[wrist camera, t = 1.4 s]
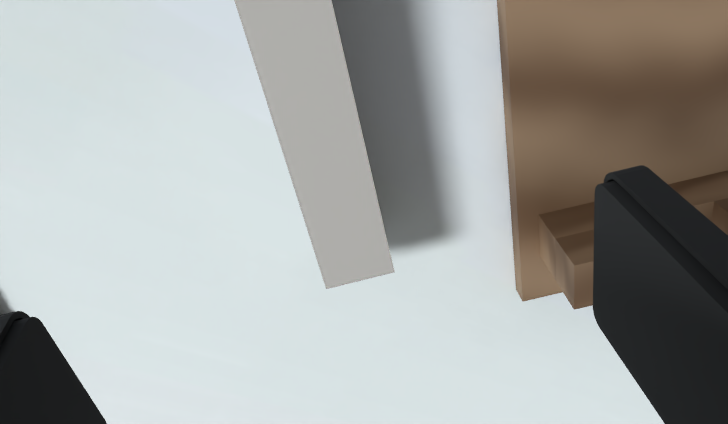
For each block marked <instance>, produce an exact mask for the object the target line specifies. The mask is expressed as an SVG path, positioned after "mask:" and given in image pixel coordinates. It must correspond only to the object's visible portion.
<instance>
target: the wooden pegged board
mask: <svg viewBox="0 0 728 424" xmlns="http://www.w3.org/2000/svg"><path fill="white" fill-rule="evenodd" d="M497 7H498V22H499V38H500V53H501V68H502V83H503V98H504V113H505V128H506V143H507V158H508V174H509V189H510V204H511V219H512V234H513V249H514V264H515V279H516V290H517V292H518V294H519V295H520V297H521V299H522V301H527V300H531V299H535V298H540V297H544V296H548V295H552V294H557V293H561V292H563V293H564V294H565V296H566V297H567V299H568V301H569V302H570V304H571V305H572V307H573V308H574V309H578V308H583V307H587V306H591V305H593V262H594V198H595V188H596V186H597V185H598V184H601V183H604V178H605V176H606V175H607V174H608V173H610V172H614V171H618V170H623V169H627V168H631V167H635V166H640V165H644V166H646V167H648V168H649V169H650V170H652V171H653V172H654V173H655V174H656V175H657V176H659V177H660V178H661V179H662V180H663V181H664V182H666V183H667V184H668V185H669V186H670V187H671V188H673V189H674V190H675V191H676V192H677V193H679V194H680V195H681V196H682V197H683V198H684V199H686V200H687V201H688V202H689V203H690V204H691V205H693V206H694V207H695V208H696V209H697V210H699V211H700V212H701V213H702V214H703V215H704V216H706V217H707V218H708V219H709V220H710V221H711V222H713V223H714V224H715V225H716V226H717V227H718V228H720V229H721V230H722V231H723V232H724V233H726V234H727V235H728V0H497Z"/></svg>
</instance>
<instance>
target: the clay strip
mask: <svg viewBox="0 0 728 424" xmlns="http://www.w3.org/2000/svg"><path fill="white" fill-rule="evenodd" d="M235 4H236V7H237V10H238V13H239V16H240V19H241V22H242V26H243V29H244V32H245V35H246V38H247V41H248V44H249V48H250V51H251V54H252V57H253V60H254V63H255V66H256V70H257V73H258V76H259V79H260V82H261V85H262V88H263V92H264V95H265V98H266V101H267V104H268V107H269V110H270V114H271V117H272V120H273V123H274V126H275V129H276V132H277V136H278V139H279V142H280V145H281V148H282V151H283V154H284V157H285V161H286V164H287V167H288V170H289V173H290V176H291V179H292V183H293V186H294V189H295V192H296V195H297V198H298V201H299V205H300V208H301V211H302V214H303V217H304V220H305V223H306V227H307V230H308V233H309V236H310V239H311V242H312V245H313V249H314V252H315V255H316V258H317V261H318V264H319V267H320V271H321V274H322V277H323V280H324V283H325V286H326V289H329V288H333V287H337V286H341V285H345V284H349V283H353V282H357V281H361V280H365V279H369V278H373V277H377V276H381V275H385V274H389V273H393V272H394V268H393V264H392V259H391V255H390V251H389V246H388V242H387V238H386V233H385V229H384V225H383V220H382V216H381V212H380V207H379V203H378V199H377V194H376V190H375V186H374V181H373V177H372V173H371V168H370V164H369V160H368V155H367V151H366V147H365V142H364V138H363V134H362V129H361V125H360V121H359V116H358V112H357V108H356V104H355V99H354V95H353V91H352V86H351V82H350V78H349V73H348V69H347V65H346V60H345V56H344V52H343V47H342V43H341V39H340V34H339V30H338V26H337V21H336V17H335V13H334V8H333V4H332V0H235Z"/></svg>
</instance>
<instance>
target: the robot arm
mask: <svg viewBox="0 0 728 424" xmlns="http://www.w3.org/2000/svg"><path fill="white" fill-rule="evenodd" d="M593 311H594V316H595V319H596V321H597V324H598V326H599V327H600V329H601V330H602V332H603V333H604V335H605V336H606V338H607V339H608V341H609V342H610V344H611V345H612V347H613V348H614V349H615V351H616V352H617V354H618V355H619V357H620V358H621V360H622V361H623V363H624V364H625V366H626V367H627V369H628V370H629V372H630V373H631V374H632V376H633V377H634V379H635V380H636V382H637V383H638V385H639V386H640V388H641V389H642V391H643V392H644V394H645V395H646V397H647V398H648V399H649V401H650V402H651V404H652V405H653V407H654V408H655V410H656V411H657V413H658V414H659V416H660V417H661V419H662V420H663V422H664V423H665V424H728V235H727V234H726V233H724V232H723V231H722V230H721V229H720V228H718V227H717V226H716V225H715V224H714V223H713V222H711V221H710V220H709V219H708V218H707V217H706V216H704V215H703V214H702V213H701V212H700V211H699V210H697V209H696V208H695V207H694V206H693V205H691V204H690V203H689V202H688V201H687V200H686V199H684V198H683V197H682V196H681V195H680V194H679V193H677V192H676V191H675V190H674V189H673V188H671V187H670V186H669V185H668V184H667V183H666V182H664V181H663V180H662V179H661V178H660V177H659V176H657V175H656V174H655V173H654V172H653V171H652V170H650V169H649V168H648V167H646V166H644V165H640V166H635V167H631V168H627V169H623V170H618V171H614V172H610V173H608V174H607V175H606V176H605V178H604V183H601V184H598V185H597V186H596V188H595V198H594V262H593ZM0 424H107V423H106V421H105V419H104V418H103V416H102V415H101V413H100V412H99V410H98V409H97V407H96V405H95V404H94V402H93V401H92V399H91V398H90V396H89V395H88V393H87V392H86V390H85V388H84V387H83V385H82V384H81V382H80V381H79V379H78V378H77V376H76V375H75V373H74V371H73V370H72V368H71V367H70V365H69V364H68V362H67V361H66V359H65V358H64V356H63V354H62V353H61V351H60V350H59V348H58V347H57V345H56V344H55V342H54V341H53V339H52V337H51V336H50V334H49V333H48V331H47V330H46V328H45V327H44V325H43V324H42V322H41V321H40V320H39V319H38V318H36V317H29V316H28V315H27V314H26V313H24V312H20V311H17V312H12V313H8V314H4V315H0Z"/></svg>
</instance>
